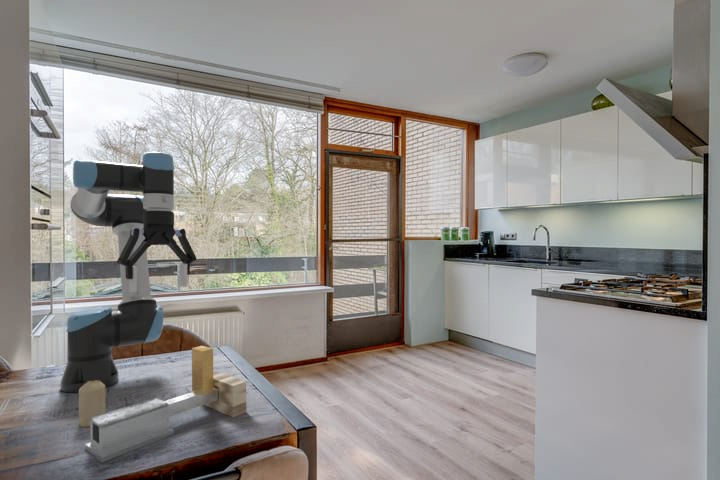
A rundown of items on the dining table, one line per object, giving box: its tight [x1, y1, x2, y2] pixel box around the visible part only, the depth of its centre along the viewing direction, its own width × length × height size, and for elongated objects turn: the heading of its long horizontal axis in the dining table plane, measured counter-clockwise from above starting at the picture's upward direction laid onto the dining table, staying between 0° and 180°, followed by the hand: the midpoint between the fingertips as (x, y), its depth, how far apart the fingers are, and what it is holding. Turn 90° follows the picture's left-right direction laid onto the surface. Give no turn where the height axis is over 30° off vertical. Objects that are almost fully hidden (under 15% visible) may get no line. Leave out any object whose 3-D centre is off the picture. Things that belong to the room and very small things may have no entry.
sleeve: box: [84, 397, 175, 463], centre depth 91 cm, size 9×15×7 cm, turn 142°
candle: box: [78, 380, 107, 428], centre depth 101 cm, size 6×6×10 cm
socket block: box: [204, 369, 247, 418], centre depth 109 cm, size 16×4×8 cm, turn 52°
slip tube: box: [163, 345, 219, 418], centre depth 101 cm, size 5×22×14 cm, turn 142°
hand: (159, 289), depth 110 cm, fingers open, 13 cm apart
